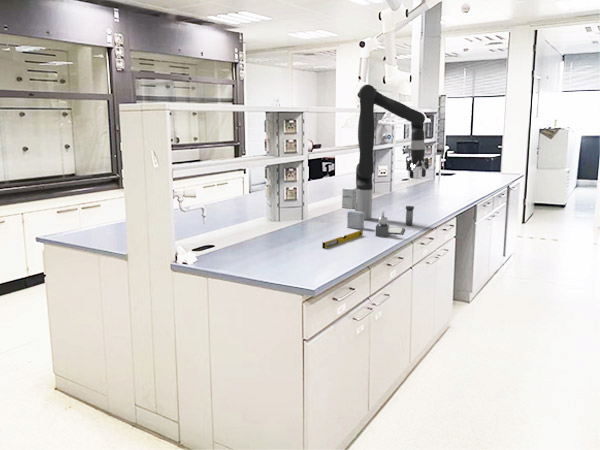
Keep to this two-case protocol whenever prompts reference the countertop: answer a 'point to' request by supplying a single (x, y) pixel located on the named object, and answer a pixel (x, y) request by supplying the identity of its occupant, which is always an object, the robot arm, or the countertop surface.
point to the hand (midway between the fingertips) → (417, 177)
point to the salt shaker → (409, 215)
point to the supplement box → (348, 197)
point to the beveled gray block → (382, 226)
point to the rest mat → (396, 230)
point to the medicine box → (355, 219)
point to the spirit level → (342, 239)
